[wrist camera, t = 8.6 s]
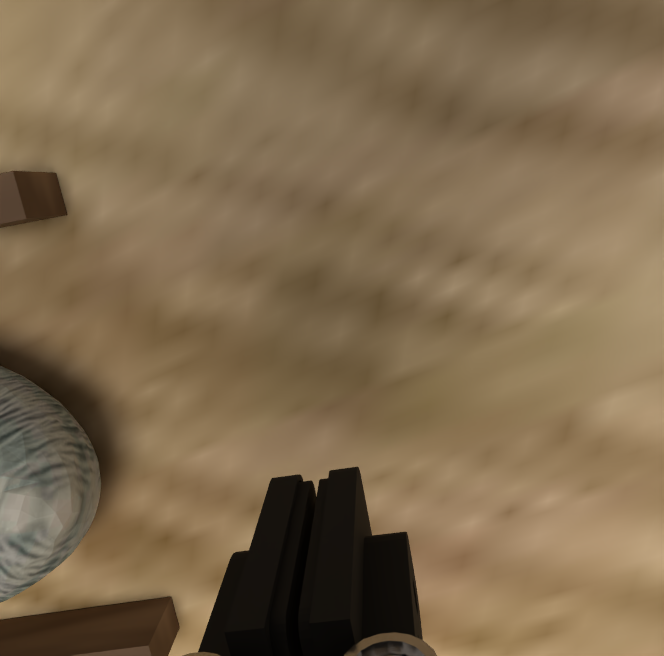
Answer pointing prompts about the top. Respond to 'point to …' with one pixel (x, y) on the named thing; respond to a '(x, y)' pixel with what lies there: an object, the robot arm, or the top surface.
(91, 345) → the top surface
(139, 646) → the guide channel
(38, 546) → the grey rounded piece
